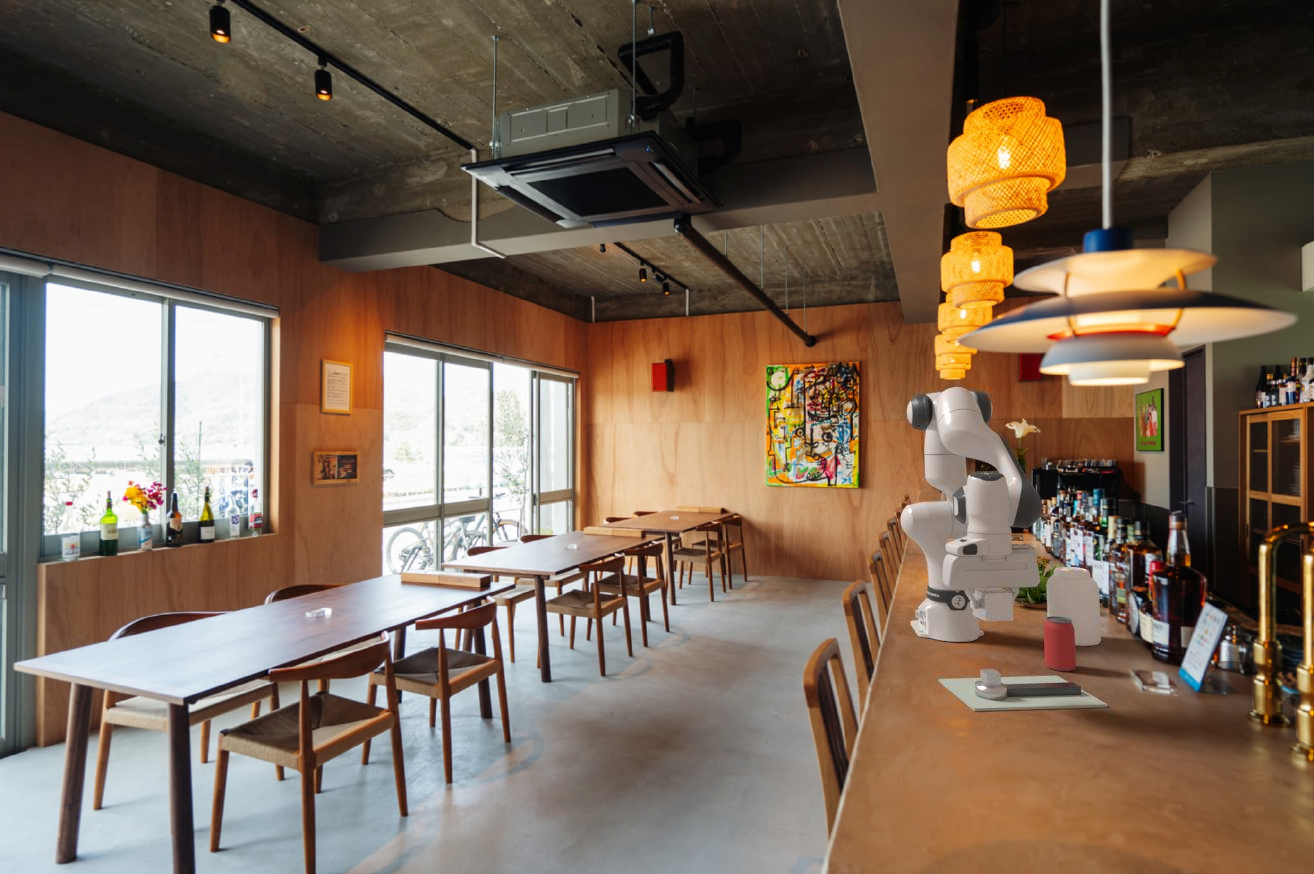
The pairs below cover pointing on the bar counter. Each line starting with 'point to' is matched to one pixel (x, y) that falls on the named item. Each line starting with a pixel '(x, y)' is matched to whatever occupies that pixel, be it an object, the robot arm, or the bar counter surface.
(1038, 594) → the potted flower
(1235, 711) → the bar counter surface
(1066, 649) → the beer can
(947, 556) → the robot arm
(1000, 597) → the grey box
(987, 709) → the mat
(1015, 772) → the bar counter surface
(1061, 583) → the white plastic canister
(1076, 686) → the lever
